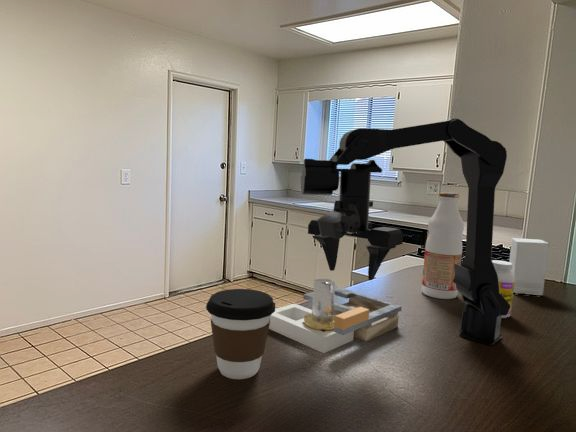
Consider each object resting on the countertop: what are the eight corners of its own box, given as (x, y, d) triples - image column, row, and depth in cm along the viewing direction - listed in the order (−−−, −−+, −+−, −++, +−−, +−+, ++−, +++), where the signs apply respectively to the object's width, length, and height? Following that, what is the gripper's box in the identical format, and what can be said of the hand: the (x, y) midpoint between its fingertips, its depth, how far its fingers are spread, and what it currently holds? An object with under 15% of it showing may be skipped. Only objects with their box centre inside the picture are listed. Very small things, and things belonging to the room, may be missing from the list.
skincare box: (535, 291, 125) (542, 239, 123) (543, 298, 118) (551, 243, 116) (504, 288, 127) (511, 236, 125) (511, 294, 120) (517, 240, 118)
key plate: (401, 310, 89) (402, 297, 89) (342, 335, 75) (344, 319, 74) (333, 289, 102) (334, 277, 101) (272, 307, 87) (273, 293, 87)
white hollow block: (353, 340, 82) (354, 325, 82) (323, 353, 76) (324, 337, 76) (293, 316, 93) (294, 303, 93) (263, 326, 87) (264, 312, 87)
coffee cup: (244, 395, 61) (247, 315, 59) (189, 372, 66) (191, 299, 65) (285, 367, 70) (289, 296, 69) (234, 349, 76) (236, 283, 74)
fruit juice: (432, 300, 111) (443, 193, 107) (414, 289, 120) (423, 190, 116) (464, 299, 113) (476, 194, 109) (444, 289, 122) (454, 192, 118)
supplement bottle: (497, 320, 98) (503, 266, 97) (474, 310, 104) (479, 259, 102) (516, 317, 101) (523, 264, 99) (493, 308, 107) (499, 258, 105)
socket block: (397, 326, 91) (399, 309, 90) (366, 341, 82) (367, 322, 82) (351, 311, 99) (352, 295, 98) (318, 323, 90) (319, 305, 90)
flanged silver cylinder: (346, 337, 82) (350, 283, 81) (323, 347, 77) (327, 289, 76) (318, 326, 87) (322, 274, 86) (295, 335, 82) (298, 280, 81)
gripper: (290, 193, 82) (288, 272, 84) (373, 201, 69) (368, 294, 71) (326, 192, 90) (323, 263, 92) (406, 199, 77) (401, 282, 79)
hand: (350, 274), depth 83 cm, fingers open, 9 cm apart
